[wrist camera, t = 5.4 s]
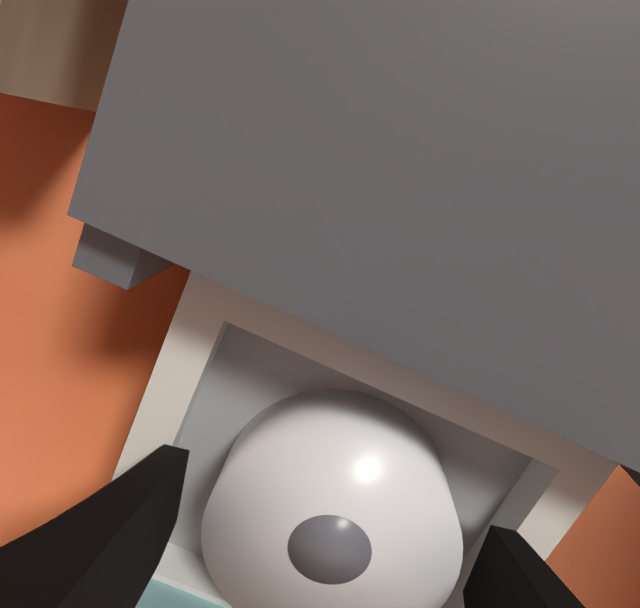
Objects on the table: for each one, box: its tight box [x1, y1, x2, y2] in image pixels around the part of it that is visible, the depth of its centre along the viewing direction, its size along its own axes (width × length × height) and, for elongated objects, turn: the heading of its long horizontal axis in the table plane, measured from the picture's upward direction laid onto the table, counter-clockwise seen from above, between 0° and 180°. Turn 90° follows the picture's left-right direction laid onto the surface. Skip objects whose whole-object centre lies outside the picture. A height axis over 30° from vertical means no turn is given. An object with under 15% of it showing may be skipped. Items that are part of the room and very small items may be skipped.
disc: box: [201, 389, 463, 608], centre depth 11 cm, size 6×6×2 cm
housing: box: [67, 0, 640, 486], centre depth 8 cm, size 13×14×5 cm
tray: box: [111, 271, 619, 608], centre depth 11 cm, size 10×12×3 cm
